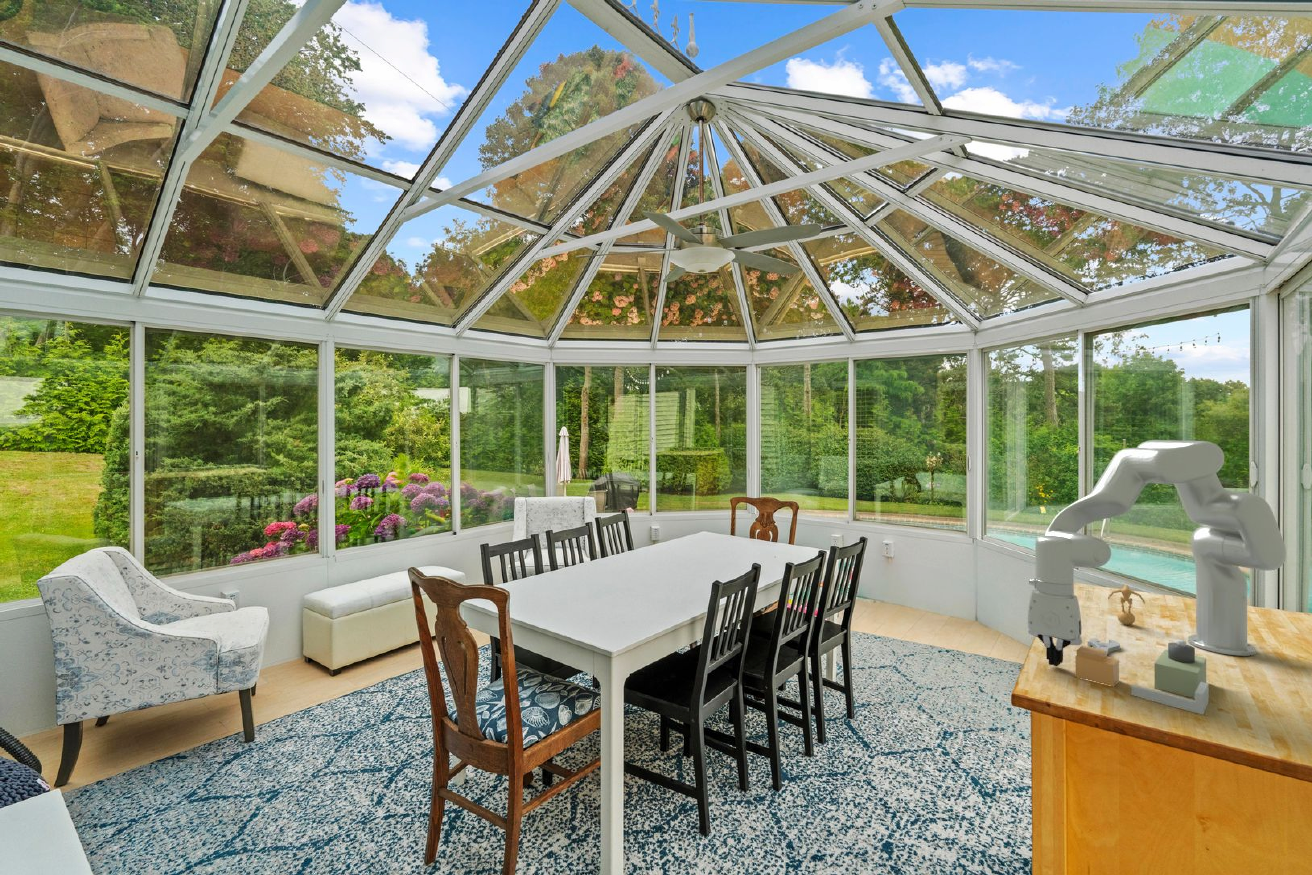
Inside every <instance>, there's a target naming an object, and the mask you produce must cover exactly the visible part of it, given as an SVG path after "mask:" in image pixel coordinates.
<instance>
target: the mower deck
mask: <svg viewBox="0 0 1312 875" xmlns="http://www.w3.org/2000/svg"><path fill="white" fill-rule="evenodd" d="M1175 640H1176V642H1168V643H1167V644H1168V645H1167V647H1168V648H1167V649H1164V650H1163V651H1162V653H1161V654H1160V656H1158V657H1157V659H1156V661H1155V662H1154V689H1151V688H1148V687H1144V686H1140V685H1136V684H1132V685H1131V696H1132V695H1134V696H1133V697H1135V696H1139V697H1141V698H1140V699H1143V698H1145V699H1144V700H1147V701H1150V700H1153V701H1152V702H1154V701H1156V702H1155V703H1158V702H1159V703H1158V704H1160V705H1161V704H1162V705H1166V706H1168V707H1173V708H1177V709H1181V710H1184V711H1189V712H1191V713H1195V714H1200V715H1202V716H1203V715H1204V714H1205V711H1206V709H1207V707H1208V705H1209V698H1210V696H1209V691H1210V689H1209V687H1210V685H1209V684H1210V683H1209V682H1207V658H1206V657H1203V656H1197V655H1196V649H1195V648H1196V647H1195V646H1192V645H1190V644H1187V641H1186V640H1184V639H1175ZM1155 689H1157V690H1155ZM1159 690H1161V691H1159ZM1168 691H1169V692H1168ZM1167 692H1168V693H1167ZM1172 692H1173V694H1171V693H1172ZM1177 694H1178V695H1180V696H1178V695H1177ZM1182 696H1185V697H1182ZM1139 697H1138V698H1139ZM1186 697H1189V698H1186ZM1191 698H1192V699H1191Z"/></svg>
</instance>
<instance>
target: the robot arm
mask: <svg viewBox="0 0 1312 875" xmlns="http://www.w3.org/2000/svg"><path fill="white" fill-rule="evenodd" d="M1224 463H1225V454H1224V451H1223V450H1222V448H1221V447H1220V446H1219V445H1218V444H1216V443H1214V442H1211V441H1207V440H1206V441H1205V440H1177V439H1176V440H1174V439H1166V440H1165V439H1150V440H1146V441H1143V442H1141V443H1140V444H1138V446H1137V447H1126V448H1123V449H1120V450H1119V451H1117V452H1116V453H1115V454H1114V456H1113V457H1112V458H1111V460H1110V461H1109V463H1108V465H1107V466H1106V468H1105V469H1104V471H1103V472H1102V474H1101V476H1100V477H1099V479H1098V480H1097V482H1096V484H1095V485H1094V487H1093V489H1092V490H1091V492H1090V493H1089V494H1087V495H1085V496H1084V497H1082V498H1080V499H1078V500H1076V501H1074V502H1073V503H1071V504H1069V505H1068V506H1066V507H1065V508H1063V509H1062V510H1061V511H1060V512H1058V514H1056V516H1055V517H1054V518H1053V520H1051V523H1050V524H1049V525H1048V527H1047V529H1046V530H1045V533H1044V535H1039V536H1038V537H1037V538H1036V539H1035V544H1034V545H1035V547H1034V548H1035V578H1034V579H1032V578H1031V579H1029V580H1028V584H1029V585H1030V586H1033V587H1034V589H1033V590H1031V592H1030V596H1029V597H1030V598H1029V603H1028V611H1027V629H1028V634H1029V635H1031V636H1033V637H1035V638H1038V639H1039V640H1040V641H1041V643H1042V644H1043V645H1044V647H1045V649H1046V652H1045V653H1046V655H1045V656H1046V658H1045V659H1046V660H1047V661H1048V665H1049V666H1054V667H1058V666H1060V664H1062V663H1063V662H1064V649H1066V648H1067V647H1068V646H1082V644H1083V640H1082V618H1081V611H1080V610H1081V609H1080V604H1079V600H1078V596H1077V595H1074V593H1075V592H1074V589H1075V588H1074V586H1075V585H1074V584H1075V582H1074V580H1075V579H1074V574H1075V573H1074V572H1075V571H1074V570H1075V569H1074V568H1075V567H1076V568H1077V567H1079V568H1087V569H1094V568H1100V567H1102V566H1104V565H1106V564H1107V563H1108V562H1109V561H1110V559H1111V557H1112V550H1111V547H1110V545H1109V544H1108V543H1107V542H1106V541H1104V540H1103V539H1101V538H1099V537H1096V536H1093V535H1089V534H1082V533H1078V532H1079V531H1080V530H1081V529H1082V528H1084V527H1085V526H1087V525H1089V524H1092V523H1094V522H1097V521H1103V520H1105V519H1111V518H1114V517H1118V516H1122V515H1125V514H1128V513H1129V512H1130V511H1131V510H1132V507H1133V506H1134V505H1135V503H1136V501H1137V500H1138V498H1139V496H1140V495H1141V493H1142V491H1143V489H1144V488H1145V487H1146V485H1147V484H1160V485H1161V484H1162V485H1174V487H1175V490H1176V493H1177V494H1178V497H1179V498H1180V502H1181V504H1182V506H1183V509H1184V511H1185V513H1186V515H1187V517H1188V518H1189V520H1190V521H1191V522H1192V523H1194V524H1196V525H1199V527H1197V528H1195V529H1194V531H1193V532H1192V534H1191V536H1190V546H1191V547H1190V548H1191V550H1192V555H1193V559H1194V564H1195V565H1194V566H1195V591H1196V592H1195V602H1196V603H1195V606H1196V607H1195V608H1196V610H1195V611H1196V612H1195V614H1196V616H1195V620H1196V621H1195V624H1196V625H1195V628H1196V630H1195V633H1196V634H1191V635H1189V636H1187V638H1188V639H1187V641H1188V642H1189V643H1190V644H1191V646H1192V645H1193V647H1195V648H1196V647H1197V648H1200V649H1203V650H1205V651H1209V652H1212V653H1218V654H1223V655H1229V656H1239V657H1246V656H1247V657H1249V656H1250V655H1251V656H1254V654H1255V655H1256V654H1257V649H1256V647H1255V646H1254V645H1251V644H1250V643H1248V583H1247V579H1246V577H1245V575H1244V573H1243V571H1242V569H1241V568H1247V569H1252V570H1258V571H1275V570H1279V568H1281V567H1282V566H1283V565H1284V564H1285V562H1286V558H1287V550H1286V545H1285V542H1284V539H1283V536H1282V534H1281V530H1280V528H1279V526H1278V523H1277V520H1276V518H1275V515H1274V513H1273V510H1272V508H1271V506H1270V504H1269V503H1268V502H1267V501H1266V500H1265V499H1264V498H1262V496H1259V495H1257V494H1254V493H1251V492H1243V491H1232V490H1227V489H1226V488H1224V487H1223V485H1222V483H1221V481H1220V479H1219V477H1218V474H1217V473H1218V472H1220V470H1221V469H1222V468H1223V466H1224ZM1240 567H1241V568H1240ZM1054 638H1055V639H1056V643H1055V642H1054Z"/></svg>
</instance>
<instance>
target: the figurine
mask: <svg viewBox="0 0 1312 875" xmlns="http://www.w3.org/2000/svg"><path fill="white" fill-rule="evenodd" d="M1116 593H1121V594H1122V596H1120V599H1119V600H1120V603H1121V611H1119V612H1118V614H1117V620H1118V621H1119V622H1120V623H1121V624H1122V625H1125V626H1130V625H1131V626H1132V625H1134V623H1135V622H1136V617H1135V615H1134V614H1133V612H1131V609H1132V605H1133V598H1132V597H1131V595H1132V594H1133V595H1135V596H1138V597H1139V599H1140V600H1141V601H1142V602H1143V604H1144V605H1146V601H1145V599H1144V598H1143V597H1142V595H1141V594H1139V593H1137V592H1136V591H1134V590H1131V589H1130V587H1129V585H1128V584H1124V586H1123V588H1121V589H1117V590H1113V591H1112V592H1111V593H1110V594H1109V595H1108V597H1107V599H1108V600H1110V598H1111V597H1112V596H1114V594H1116ZM1126 602H1127V603H1128V610H1125V603H1126Z"/></svg>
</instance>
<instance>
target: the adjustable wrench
mask: <svg viewBox="0 0 1312 875" xmlns="http://www.w3.org/2000/svg"><path fill="white" fill-rule="evenodd" d="M1087 646H1088V647H1089V646H1090V647H1093V648H1096V649H1101V650H1105V651H1107V655H1108V656H1109V654H1110V653H1112V652H1111V651H1113V652H1115V651H1114V650H1117V651H1120V650H1121V643H1120V642H1119V641H1116V640H1113V639H1110V638H1109V639H1108V642H1102V641H1100V640H1099V639H1098V638H1097V637H1092V638H1090V639H1089V640H1088V641H1087ZM1109 652H1110V653H1109Z"/></svg>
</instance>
